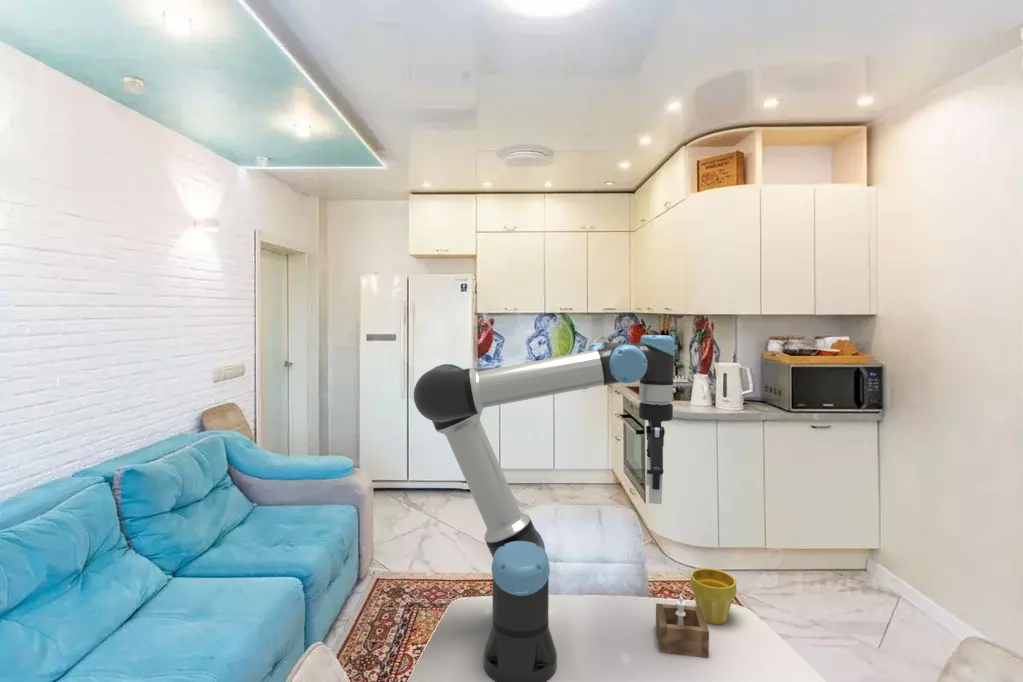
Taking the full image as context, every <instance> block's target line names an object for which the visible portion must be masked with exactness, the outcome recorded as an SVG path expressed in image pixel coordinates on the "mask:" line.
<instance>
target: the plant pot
mask: <svg viewBox="0 0 1023 682" xmlns="http://www.w3.org/2000/svg"><path fill="white" fill-rule="evenodd" d="M690 589H691V591H692V592H693V595H694V601H695V607H701V609H702V612H703V615H704V618H705V621H706V623H709V624H713V625H722V624H725V623H726V622H727V620H728V616H729V613H730V609H731V605H732V602H733V599H735V597H736V595H737V581H736V578H735V577H734V576H733V575H732V574H730V573H729V572H726V571H724V570H722V569H717V568H710V567H700V568H696V569H693V571H692V572H691V573H690Z"/></svg>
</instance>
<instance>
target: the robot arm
mask: <svg viewBox="0 0 1023 682" xmlns="http://www.w3.org/2000/svg"><path fill="white" fill-rule="evenodd" d="M675 354H676V353H675V340H674V338H673V337H672V336H671V335H664V334H663V335H662V334H656V335H655V334H643V335H641V336H640V341H639V342H636V343H635V342H634V343H627V342H607V341H606V342H605V341H602V342H592V343H590V345H588V351H582V352H576V353H571V354H566V355H560V356H556V357H555V356H554V357H550V358H545V359H541V360H540V359H539V360H538V359H537V360H534V361H529V362H523V363H518V364H512V365H507V366H502V367H495V368H491V369H490V368H489V369H486V370H480V371H478V370H475V369H474V368H472V367H470V368H462V367H460V366H458V365H455V364H451V363H444V364H441V365H437V366H435V367H433V368H431V369H430V370H428V371H426V372H425V373H424V374H422V375H421V376H420V378H418V380H417V381H416V384H415V386H414V389H413V402H414V404H415V407H416V409H417V411H418V412H419V413H420V414H421V416H423V417H424V418H426V419H427V420H429V421H432V424H433V426H434V429H435V430H436V432H437V433H439V434H442V435H444V436H445V437H446V439H447V441H448V444H449V445H450V448H451V450H452V453H453V455H454V457H455V459H456V462H457V464H458V466H459V468H460V470H461V473H462V476H463V477H464V480H465V482H466V484H467V486H468V489H469V491H470V493H471V495H472V497H473V499H474V502H475V504H476V506H477V509H478V511H479V513H480V516H481V518H482V520H483V522H484V526H485V527H486V531H485V534H484V537H483V540H484V542H485V544H486V546H487V548H488V551H489V553H490V555H491V557H492V563H491V574H492V626H491V629H490V633H489V635H488V639H487V642H486V645H485V648H484V653H483V667H484V670H485V672H486V673H487V675H488V677H490V678H491V679H492V680H494V681H496V682H546V681H547V680H549V679H550V678H551V677H553V676H554V674H555V673H556V670H557V665H558V663H557V661H558V660H557V659H558V655H557V654H558V653H557V650H556V646H555V643H554V639H553V636H552V634H551V631H550V628H549V601H550V599H549V594H550V593H549V588H550V587H549V585H550V584H549V583H550V581H549V578H550V577H549V576H550V571H551V570H550V569H551V568H550V561H549V556H548V554H547V552H546V546H545V542H544V540H543V537H542V536H541V534H540V533H539V531H538V530H537V529H536V528H535V525H534V524H533V521H532V519H531V517H530V515H528V514H526V513H524V512H521V510H520V508H519V505H518V504H517V501H516V499H515V496H514V494H513V492H512V489H511V488H510V486H509V483H508V480H507V478H506V476H505V474H504V472H503V470H502V468H501V465H500V463H499V461H498V458H497V456H496V454H495V451H494V449H493V447H492V445H491V442H490V441H489V438H488V436H487V434H486V431H485V429H484V426H483V424H482V422H481V415H482V413H483V410H484V409H485V408H490V407H496V406H500V405H506V404H512V403H516V402H522V401H527V400H532V399H537V398H541V397H543V398H544V397H548V396H554V395H559V394H563V393H568V392H574V391H579V390H584V389H589V388H590V389H591V388H595V387H600V386H606V385H613V384H619V383H623V384H630V383H631V384H632V383H636V382H639V388H638V389H639V391H638V394H639V395H638V398H639V400H640V402H639V403H638V417H639V419H641V420H644V421H647V423H648V425H646V426H645V433H646V441H647V443H646V444H647V445H646V446H647V447H646V456H647V458H646V470H645V473H646V474H645V475H646V477H645V485H646V486H648V504H654V505H662V500H663V499H662V498H663V474H664V472H665V471H664V444H665V442H664V441H665V439H664V437H665V434H666V430H665V427H664V426H662V423H663V422H670V421H672V420H673V418H674V417H673V415H674V414H673V412H674V405H673V404H672V402H673V401H674V394H673V393H676V392H677V389H676V388H674V375H675V372H674V371H675V359H676V358H675V357H676V355H675Z"/></svg>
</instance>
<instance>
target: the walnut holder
mask: <svg viewBox="0 0 1023 682" xmlns="http://www.w3.org/2000/svg"><path fill="white" fill-rule="evenodd" d="M676 611H678V608H677V605H676V604H671V603H670V604H668V603H657V602H656V603H655V631H656V637H657V642H658V643H657V644H658V649H659V650H658V651H659V654H668V655H674V656H675V655H676V656H677V655H678V656H686V657H694V658H695V657H696V658H704V659H709V657H710V653H709V651H710V649H709V648H710V646H709V645H710V631H709V627H708V624H707V622H706V621H705V618H704V615H703V612H702V609H701V607H696V606H693V605H692V606H689V605H685V607H684V610H683V611H684V612H685V614H686V615H685V616H683V623H684V625H677V623H678V615H676Z"/></svg>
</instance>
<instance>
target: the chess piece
mask: <svg viewBox="0 0 1023 682" xmlns="http://www.w3.org/2000/svg"><path fill="white" fill-rule="evenodd" d="M678 598H679V600H677V601H676V602H675V605H677V608H678V611H676V615H678V623H677V625H684V623H683V616H685V615H686V614H685V612H684V611H683V610H684V607H685V606H686V602H685V601H684V598H683V593H679V594H678Z"/></svg>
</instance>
